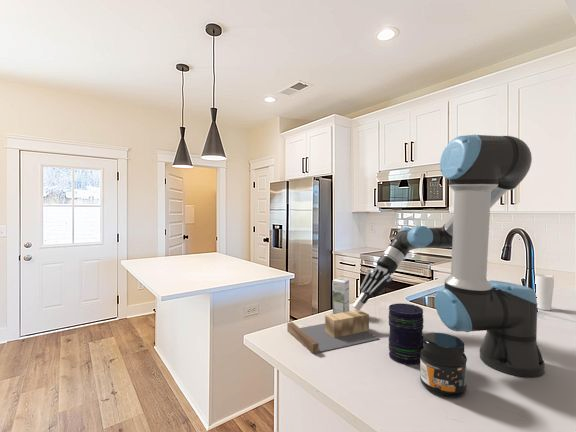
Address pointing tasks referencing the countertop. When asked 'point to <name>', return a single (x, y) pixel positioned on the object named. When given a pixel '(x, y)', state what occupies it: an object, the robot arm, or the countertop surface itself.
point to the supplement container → (443, 364)
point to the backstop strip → (303, 338)
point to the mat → (333, 343)
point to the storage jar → (405, 333)
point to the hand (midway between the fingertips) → (355, 308)
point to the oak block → (346, 323)
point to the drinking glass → (544, 291)
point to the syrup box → (340, 295)
